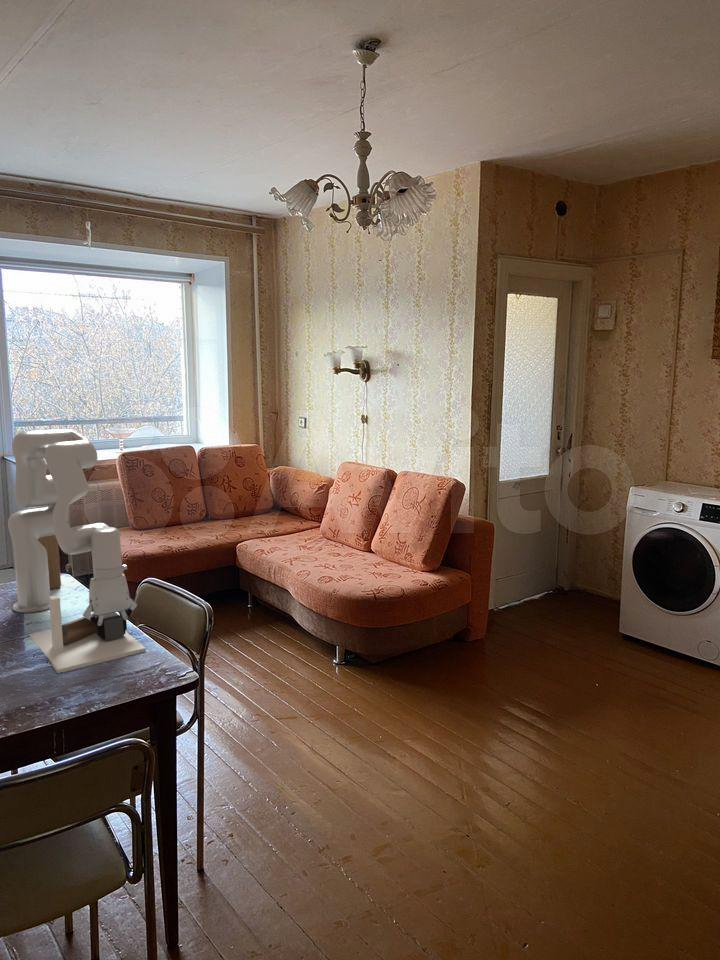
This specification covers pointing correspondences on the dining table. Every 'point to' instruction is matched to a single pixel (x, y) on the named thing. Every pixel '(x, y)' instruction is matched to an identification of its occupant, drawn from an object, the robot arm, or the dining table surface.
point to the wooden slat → (78, 630)
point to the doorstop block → (112, 626)
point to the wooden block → (52, 560)
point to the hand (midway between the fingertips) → (112, 634)
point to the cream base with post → (80, 645)
